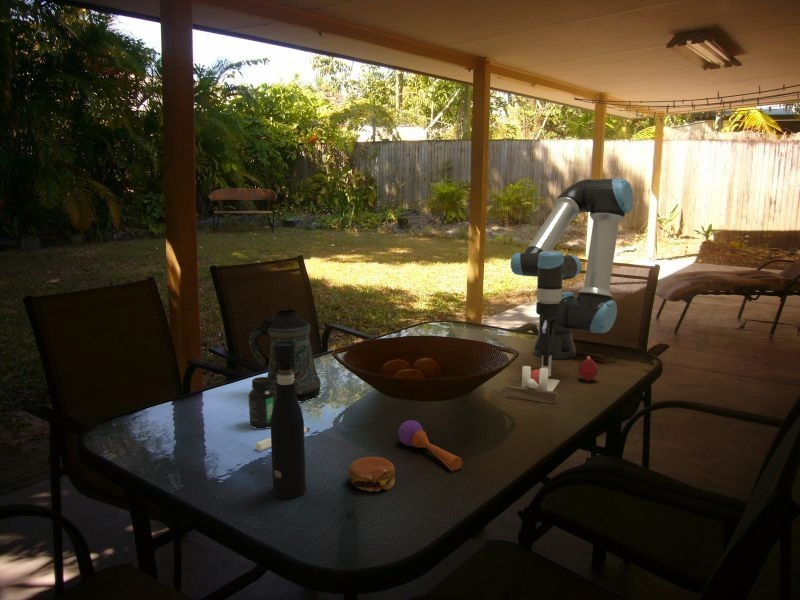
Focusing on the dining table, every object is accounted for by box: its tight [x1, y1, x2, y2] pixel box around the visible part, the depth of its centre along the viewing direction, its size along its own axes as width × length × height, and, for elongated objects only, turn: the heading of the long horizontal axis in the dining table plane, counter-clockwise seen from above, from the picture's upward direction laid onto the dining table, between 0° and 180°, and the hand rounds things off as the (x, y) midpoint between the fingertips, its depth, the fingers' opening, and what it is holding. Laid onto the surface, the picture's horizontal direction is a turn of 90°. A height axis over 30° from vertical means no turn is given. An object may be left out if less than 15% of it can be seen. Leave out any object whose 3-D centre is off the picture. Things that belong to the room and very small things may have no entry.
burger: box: [348, 456, 396, 493], centre depth 123 cm, size 10×9×5 cm
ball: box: [531, 368, 540, 385], centre depth 183 cm, size 6×6×6 cm
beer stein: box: [248, 309, 322, 402], centre depth 176 cm, size 16×19×25 cm
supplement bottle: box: [248, 376, 276, 428], centre depth 154 cm, size 7×7×12 cm
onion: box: [578, 355, 599, 382], centre depth 191 cm, size 6×6×8 cm
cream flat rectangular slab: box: [530, 378, 560, 392], centre depth 188 cm, size 13×8×1 cm, turn 155°
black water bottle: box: [270, 342, 307, 500], centre depth 118 cm, size 6×6×30 cm
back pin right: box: [521, 365, 532, 388], centre depth 177 cm, size 2×2×8 cm
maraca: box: [397, 419, 463, 472], centre depth 137 cm, size 6×6×20 cm
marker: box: [254, 427, 311, 452], centre depth 145 cm, size 3×2×16 cm
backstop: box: [506, 385, 558, 405], centre depth 174 cm, size 2×14×3 cm, turn 65°
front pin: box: [527, 379, 539, 390], centre depth 176 cm, size 2×2×8 cm
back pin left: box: [539, 367, 549, 391], centre depth 175 cm, size 2×2×8 cm
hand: (546, 375), depth 191 cm, fingers closed
